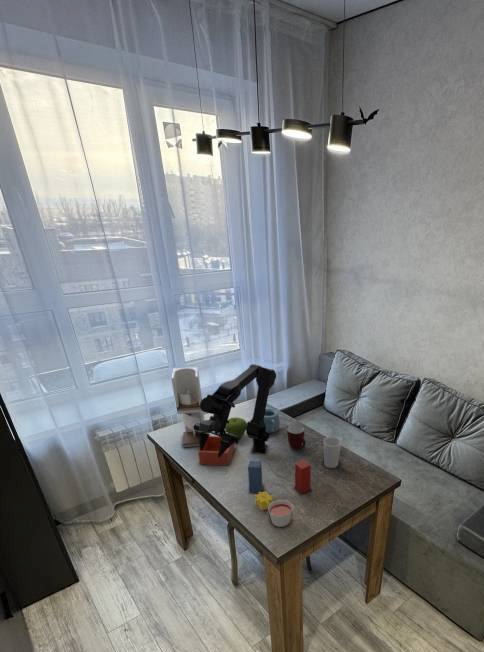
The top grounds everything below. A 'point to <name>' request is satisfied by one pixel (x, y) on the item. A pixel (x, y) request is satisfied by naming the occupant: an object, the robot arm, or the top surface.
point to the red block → (302, 476)
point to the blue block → (255, 476)
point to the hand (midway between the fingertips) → (209, 453)
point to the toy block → (263, 500)
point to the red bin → (215, 452)
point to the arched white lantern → (188, 402)
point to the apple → (236, 426)
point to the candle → (280, 512)
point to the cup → (331, 451)
